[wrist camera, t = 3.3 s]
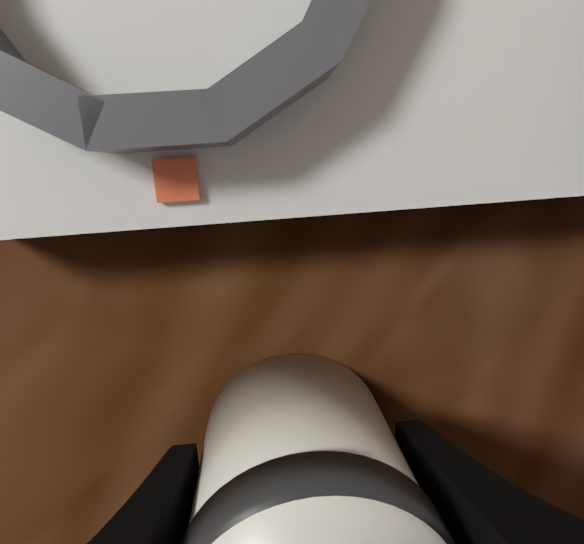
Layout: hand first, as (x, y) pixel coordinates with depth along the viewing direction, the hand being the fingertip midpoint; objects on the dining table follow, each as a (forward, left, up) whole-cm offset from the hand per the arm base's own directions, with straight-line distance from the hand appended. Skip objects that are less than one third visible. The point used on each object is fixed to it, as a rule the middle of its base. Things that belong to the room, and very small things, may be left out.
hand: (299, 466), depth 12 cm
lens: (0, 0, -1) cm, 1 cm away
